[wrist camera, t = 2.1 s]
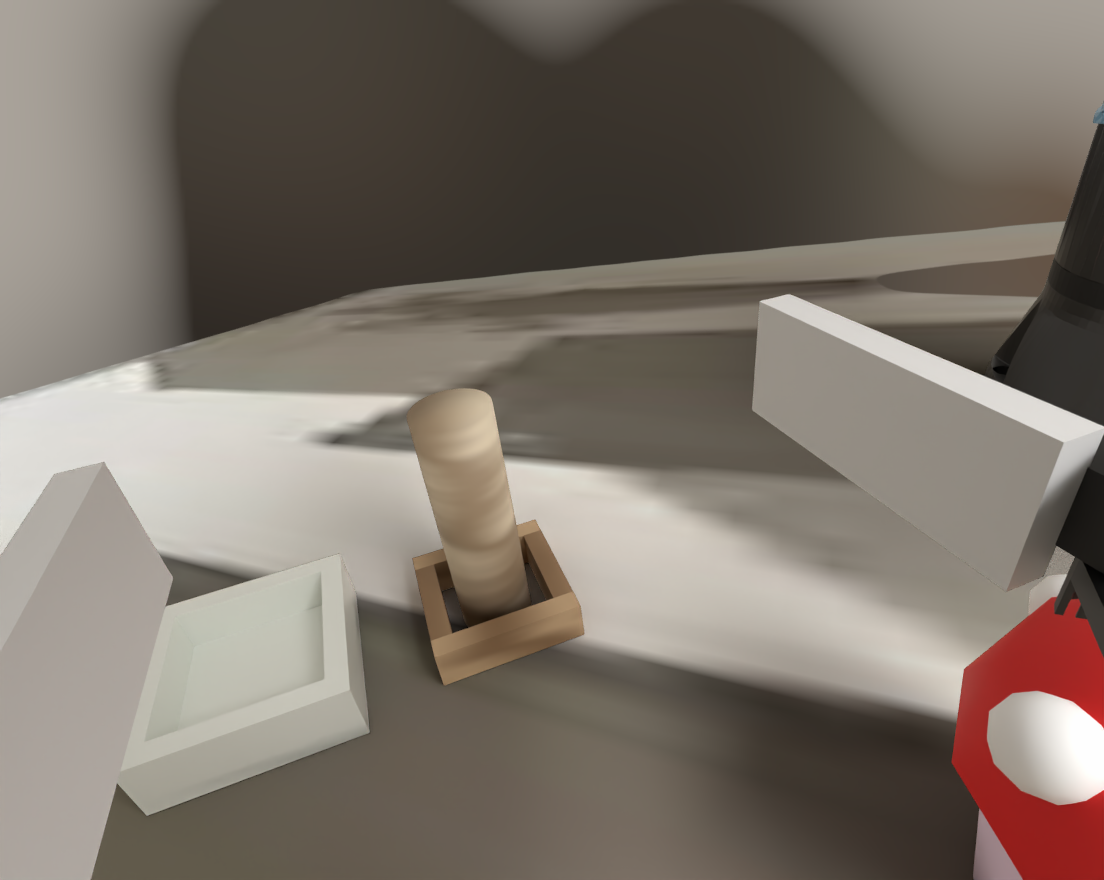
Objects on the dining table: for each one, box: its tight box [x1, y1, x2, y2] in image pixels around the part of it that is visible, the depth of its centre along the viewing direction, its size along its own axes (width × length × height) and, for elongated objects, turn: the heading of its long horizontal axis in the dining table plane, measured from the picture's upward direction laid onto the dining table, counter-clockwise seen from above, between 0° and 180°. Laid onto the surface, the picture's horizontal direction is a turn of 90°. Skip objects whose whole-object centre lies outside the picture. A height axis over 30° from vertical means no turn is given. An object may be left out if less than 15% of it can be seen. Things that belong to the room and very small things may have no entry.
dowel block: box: [412, 520, 584, 685], centre depth 32 cm, size 7×7×2 cm
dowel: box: [407, 388, 532, 628], centre depth 29 cm, size 4×4×12 cm
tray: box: [117, 553, 370, 816], centre depth 29 cm, size 9×9×3 cm
